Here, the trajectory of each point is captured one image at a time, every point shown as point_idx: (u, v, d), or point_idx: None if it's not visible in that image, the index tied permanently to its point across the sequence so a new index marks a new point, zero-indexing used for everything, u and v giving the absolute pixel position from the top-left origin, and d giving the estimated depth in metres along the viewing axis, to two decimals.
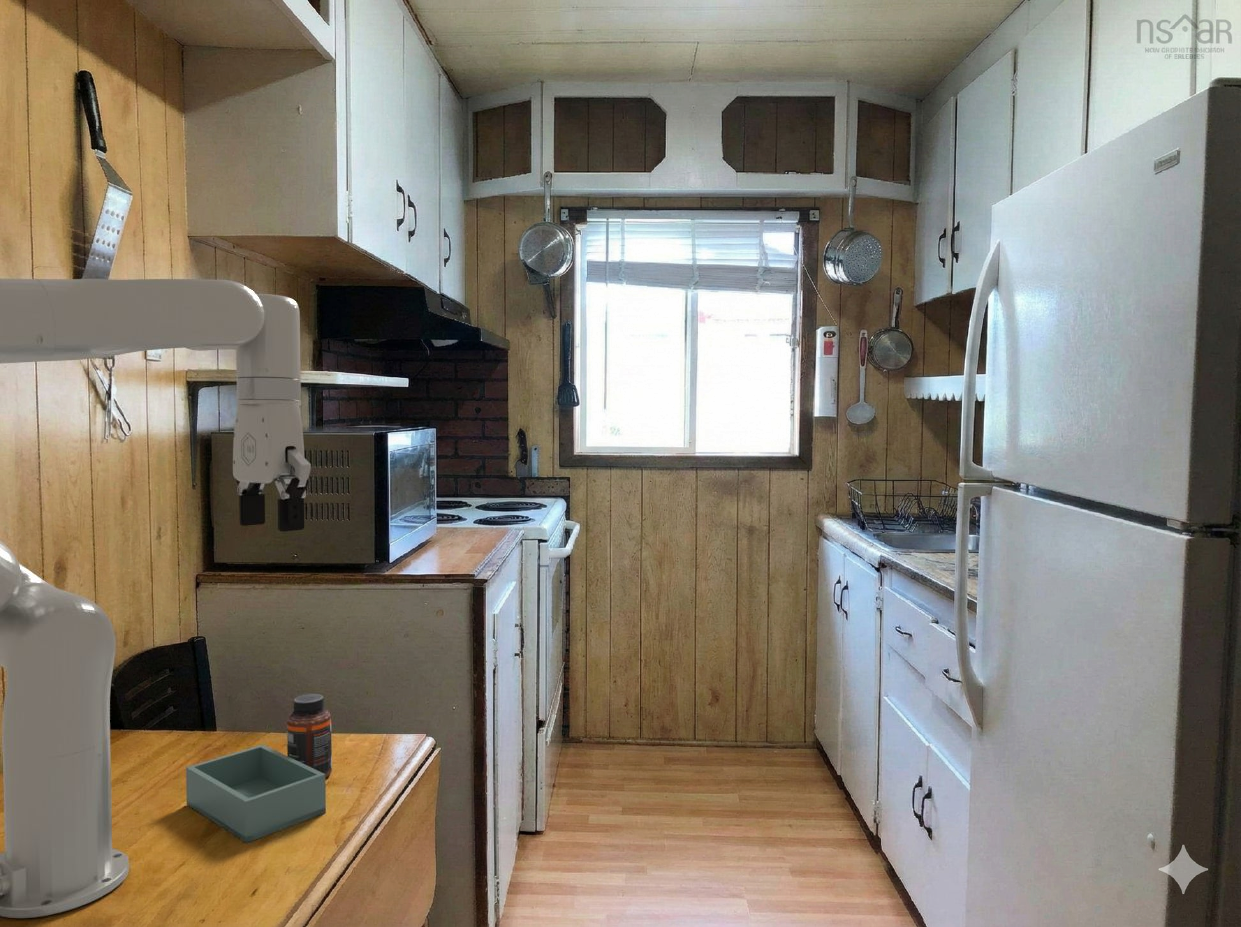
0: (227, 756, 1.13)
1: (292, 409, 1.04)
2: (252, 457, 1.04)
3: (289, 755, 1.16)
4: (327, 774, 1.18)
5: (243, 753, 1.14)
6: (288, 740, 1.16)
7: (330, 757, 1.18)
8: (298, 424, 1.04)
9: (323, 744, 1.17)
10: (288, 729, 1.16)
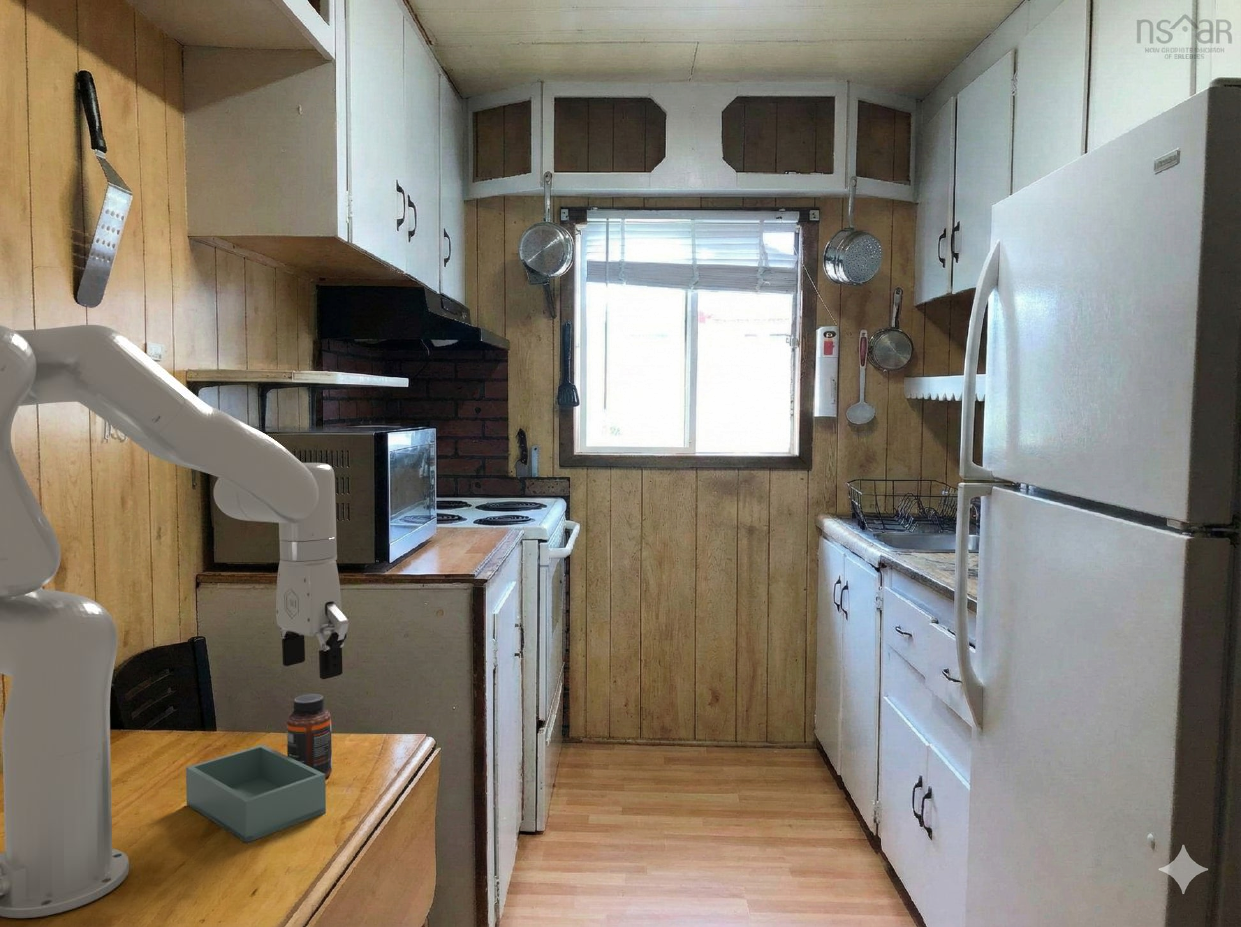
0: (227, 756, 1.13)
1: (330, 567, 1.15)
2: (294, 611, 1.15)
3: (289, 755, 1.16)
4: (327, 774, 1.18)
5: (243, 753, 1.14)
6: (288, 740, 1.16)
7: (330, 757, 1.18)
8: (336, 580, 1.16)
9: (323, 744, 1.17)
10: (288, 729, 1.16)
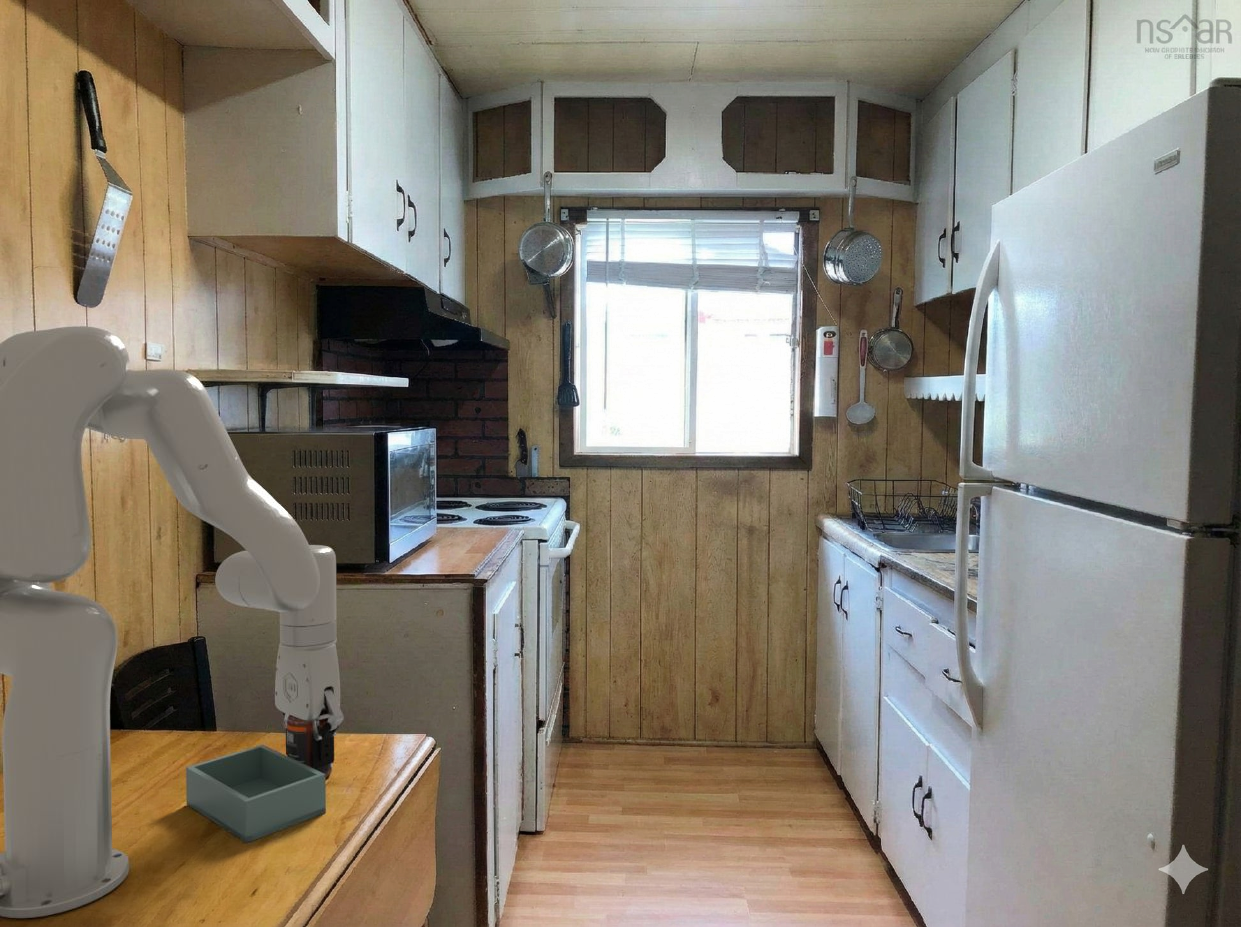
0: (227, 756, 1.13)
1: (330, 652, 1.16)
2: (293, 695, 1.16)
3: (289, 755, 1.16)
4: (327, 774, 1.18)
5: (243, 753, 1.14)
6: (288, 740, 1.16)
7: None
8: (335, 665, 1.16)
9: None
10: (288, 729, 1.16)
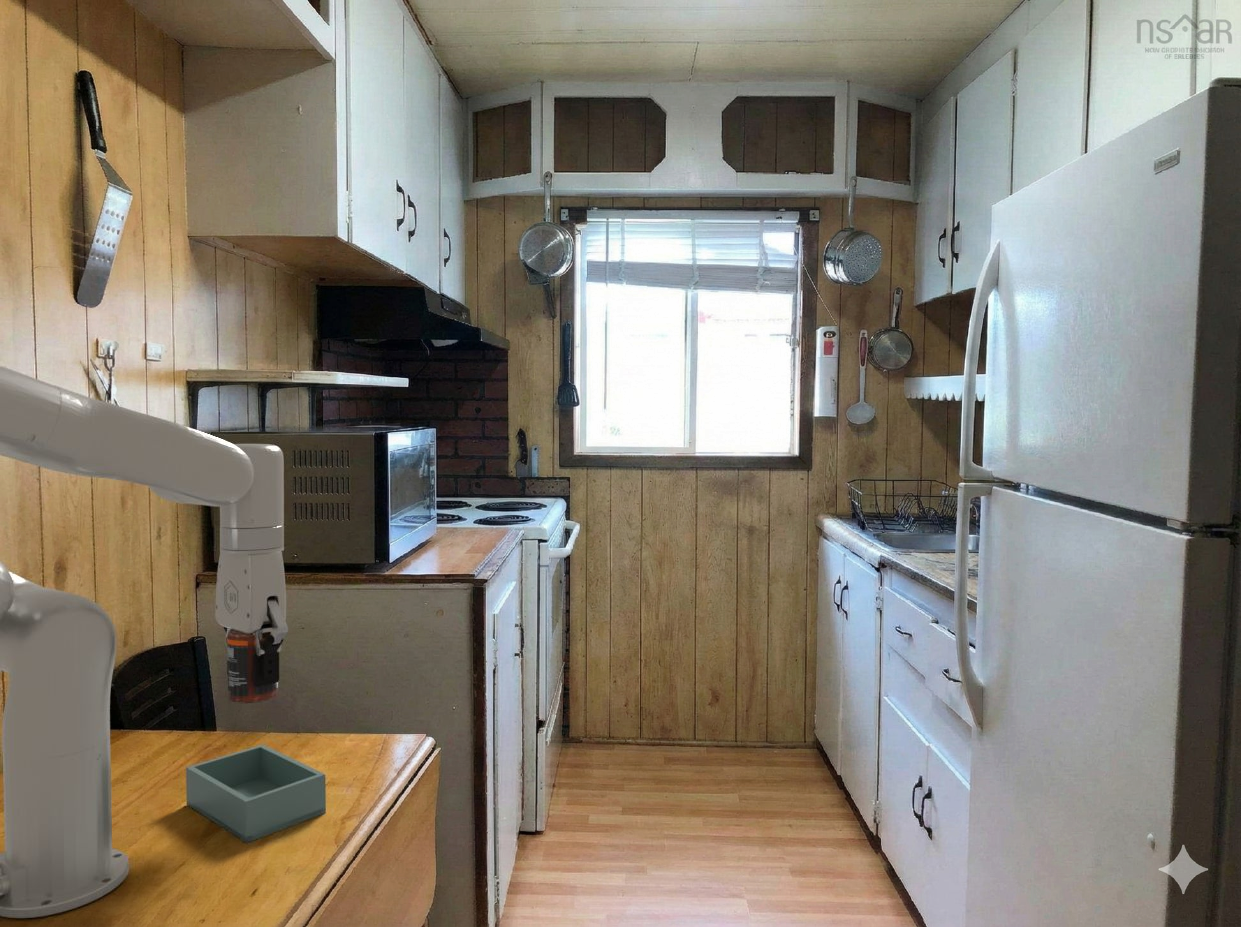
0: (227, 756, 1.13)
1: (275, 558, 1.05)
2: (234, 605, 1.05)
3: (229, 672, 1.05)
4: (272, 694, 1.07)
5: (243, 753, 1.14)
6: (228, 656, 1.06)
7: None
8: (280, 573, 1.05)
9: None
10: (228, 643, 1.05)
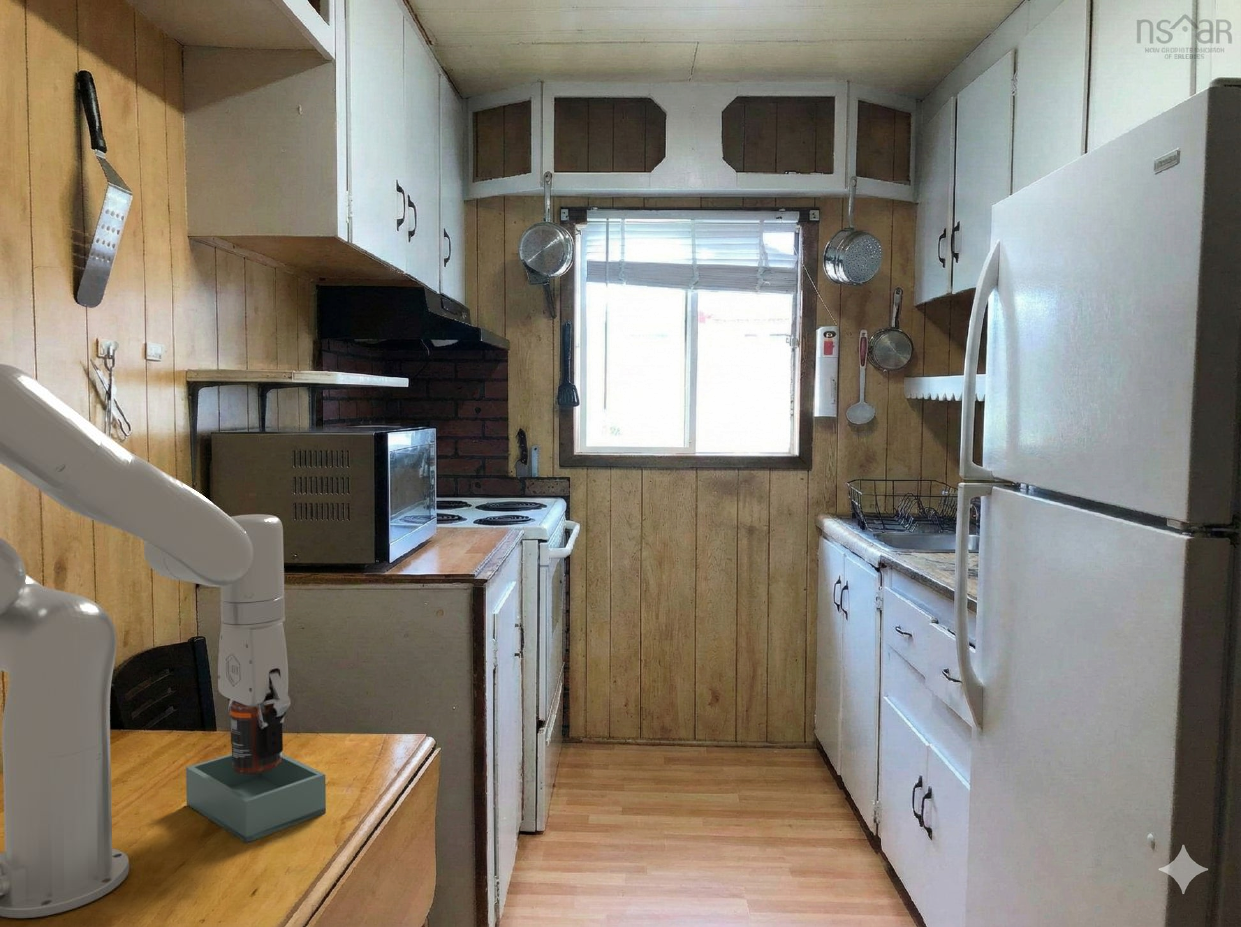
0: (227, 756, 1.13)
1: (276, 630, 1.05)
2: (236, 678, 1.05)
3: (233, 744, 1.06)
4: (276, 764, 1.07)
5: None
6: (231, 728, 1.06)
7: None
8: (282, 645, 1.06)
9: None
10: (232, 715, 1.06)
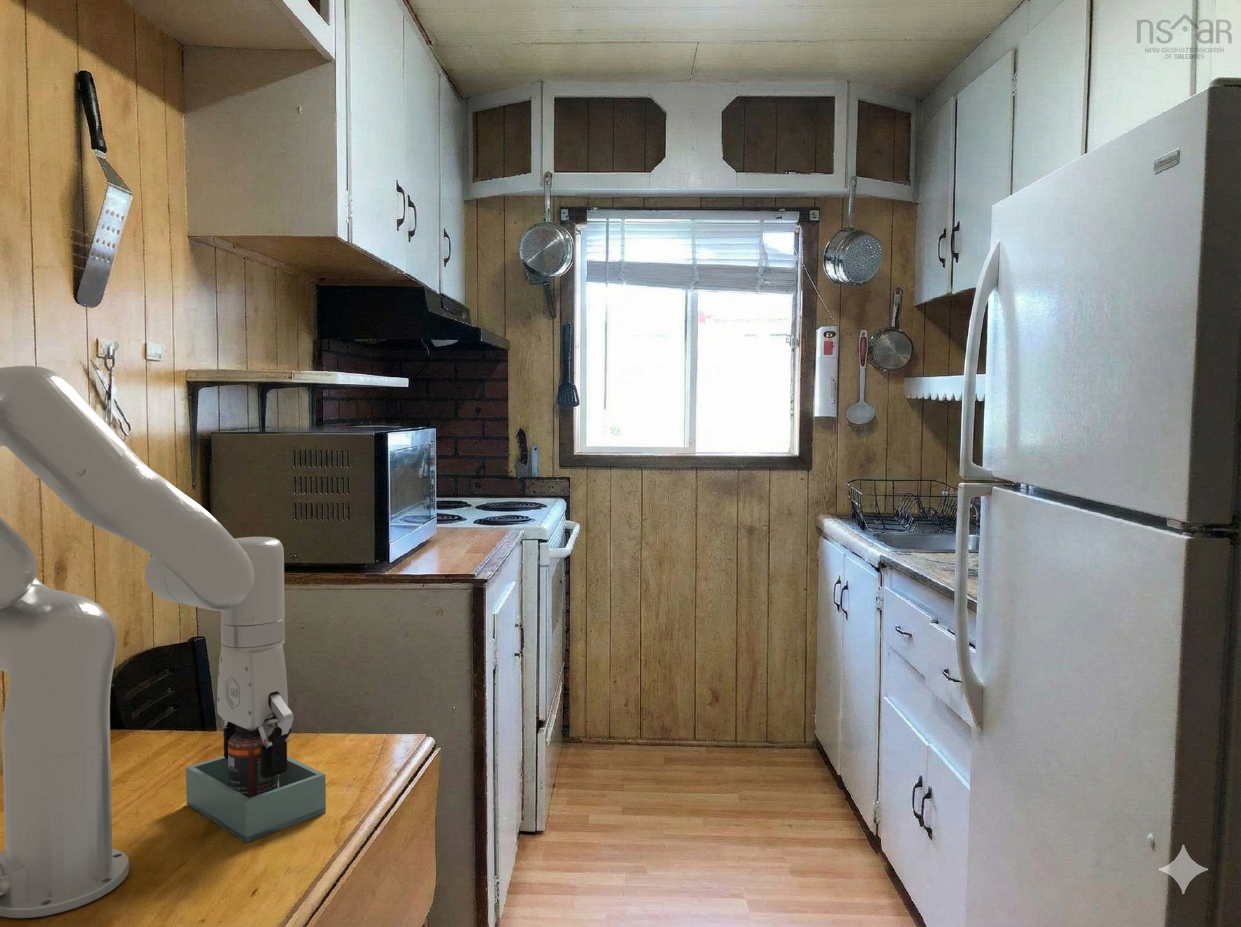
0: None
1: (276, 653, 1.05)
2: (235, 701, 1.05)
3: (230, 781, 1.06)
4: None
5: None
6: (229, 765, 1.06)
7: (276, 782, 1.08)
8: (281, 668, 1.06)
9: None
10: (229, 752, 1.06)
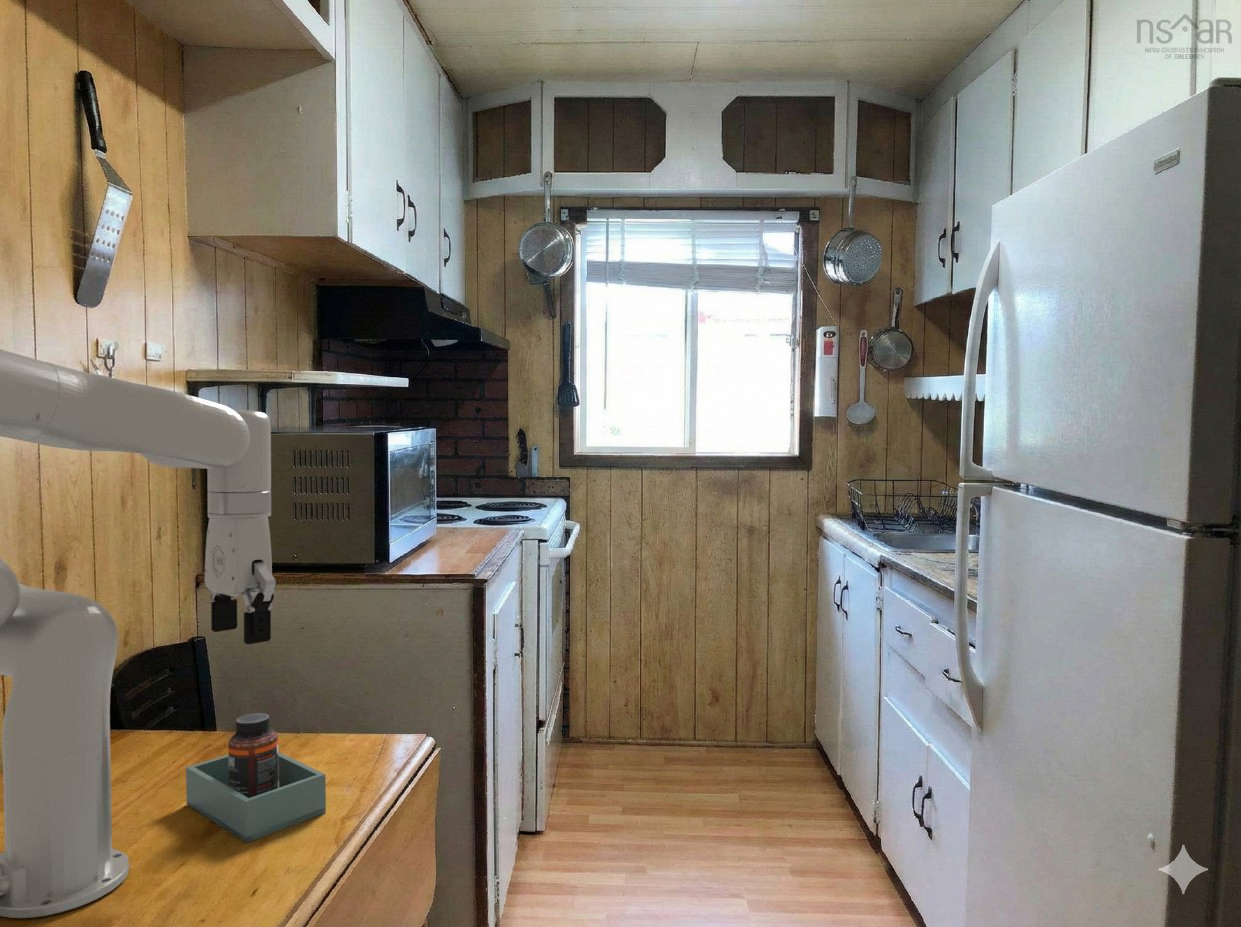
0: (227, 756, 1.13)
1: (260, 522, 1.06)
2: (220, 569, 1.06)
3: (230, 781, 1.06)
4: None
5: None
6: (229, 765, 1.06)
7: (276, 782, 1.08)
8: (266, 537, 1.06)
9: (268, 768, 1.06)
10: (229, 752, 1.06)
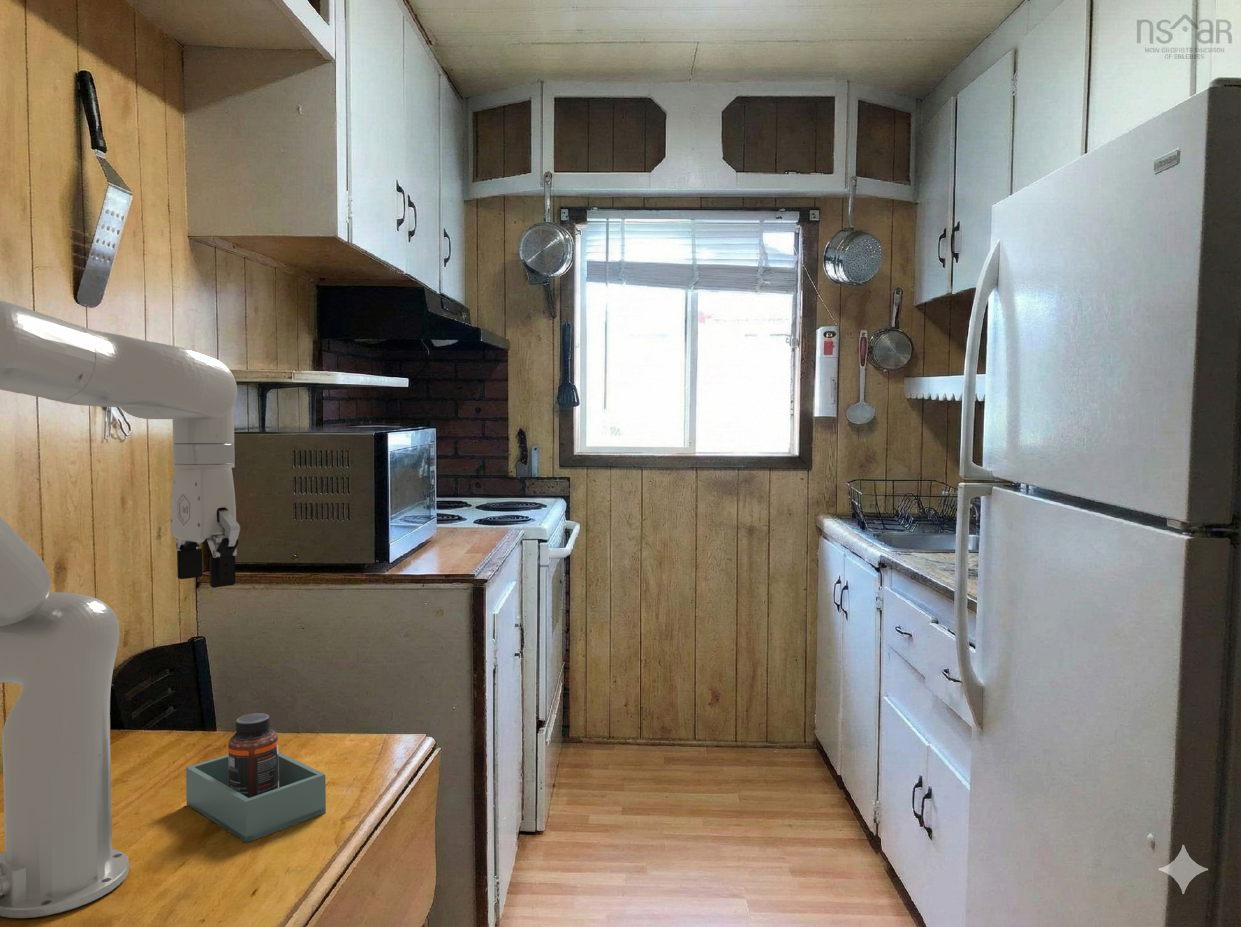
0: (227, 756, 1.13)
1: (224, 472, 1.12)
2: (186, 517, 1.12)
3: (230, 781, 1.06)
4: None
5: None
6: (229, 765, 1.06)
7: (276, 783, 1.08)
8: (230, 486, 1.12)
9: (268, 768, 1.06)
10: (229, 752, 1.06)
